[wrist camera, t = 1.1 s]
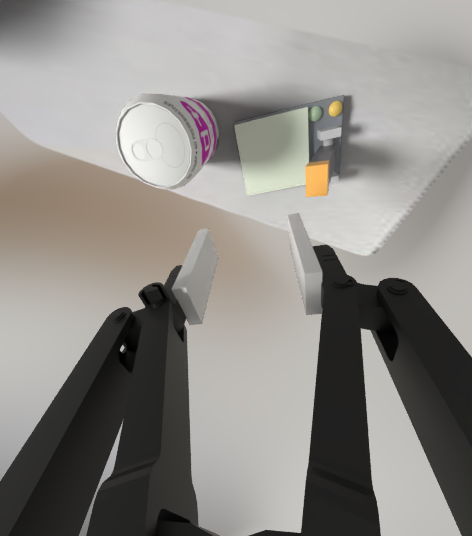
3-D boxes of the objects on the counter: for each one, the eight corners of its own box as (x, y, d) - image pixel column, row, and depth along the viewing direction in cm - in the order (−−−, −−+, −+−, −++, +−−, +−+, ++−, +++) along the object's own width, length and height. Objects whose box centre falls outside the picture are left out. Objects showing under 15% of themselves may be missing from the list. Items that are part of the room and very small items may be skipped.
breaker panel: (235, 122, 31) (232, 124, 28) (340, 95, 29) (350, 94, 25) (247, 192, 37) (246, 200, 34) (336, 175, 34) (344, 182, 31)
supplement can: (212, 92, 29) (183, 82, 17) (224, 159, 34) (206, 188, 22) (156, 103, 31) (91, 102, 18) (174, 167, 35) (132, 198, 23)
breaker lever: (319, 139, 30) (305, 160, 23) (337, 136, 29) (328, 157, 22) (319, 172, 33) (306, 201, 25) (335, 171, 32) (326, 200, 24)
